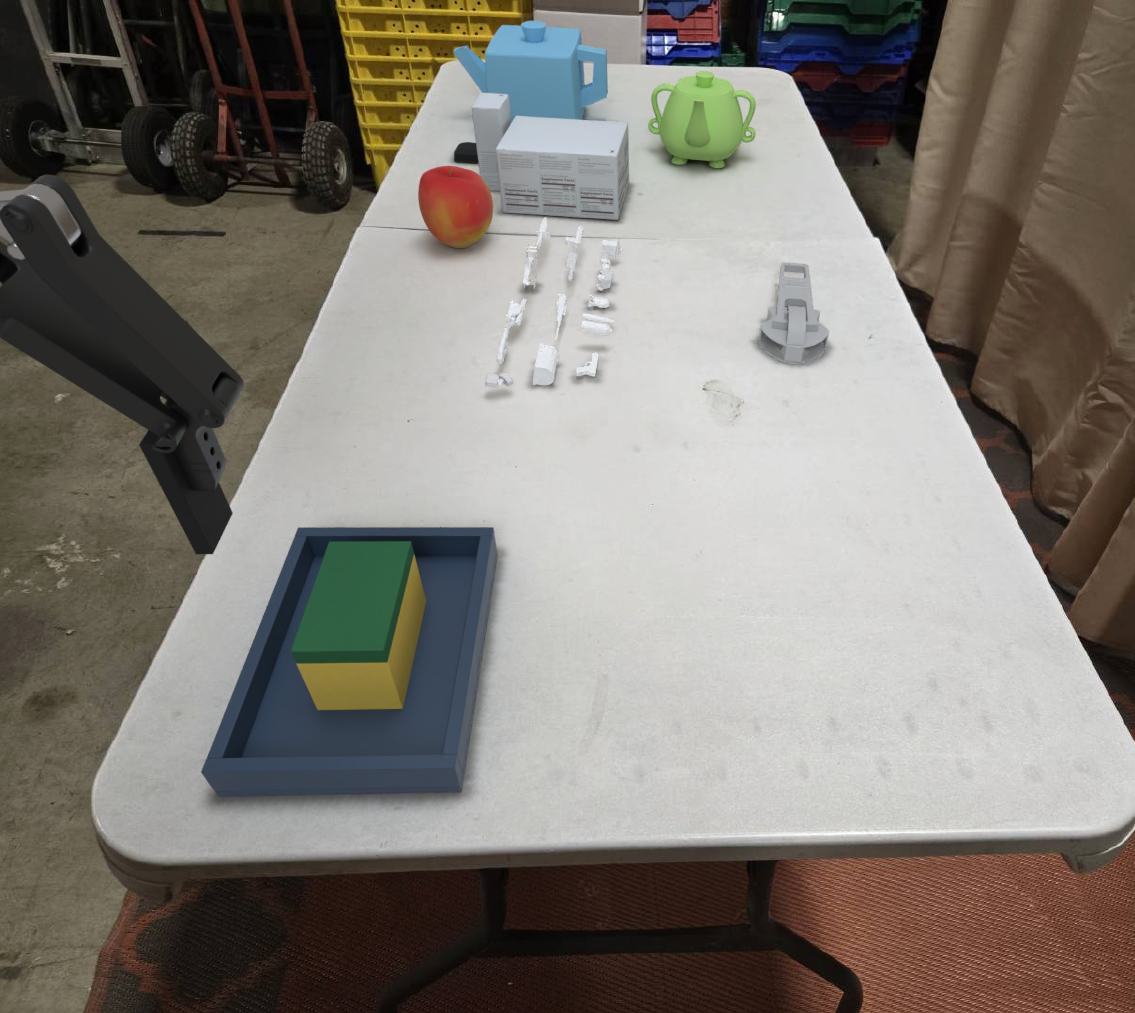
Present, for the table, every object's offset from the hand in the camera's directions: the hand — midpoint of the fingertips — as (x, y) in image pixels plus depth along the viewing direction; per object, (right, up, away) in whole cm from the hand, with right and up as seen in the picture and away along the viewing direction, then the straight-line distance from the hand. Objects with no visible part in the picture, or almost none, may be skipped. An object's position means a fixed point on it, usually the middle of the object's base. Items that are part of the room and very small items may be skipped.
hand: (64, 534), depth 39 cm
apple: (-1, +37, +74) cm, 83 cm away
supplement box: (+12, +47, +85) cm, 98 cm away
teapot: (+32, +58, +98) cm, 119 cm away
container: (+4, +68, +107) cm, 127 cm away
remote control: (+1, +56, +95) cm, 110 cm away
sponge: (+6, -10, +25) cm, 27 cm away
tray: (+6, -10, +25) cm, 28 cm away
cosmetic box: (+2, +50, +88) cm, 101 cm away
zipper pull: (+43, +24, +63) cm, 80 cm away
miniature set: (+15, +24, +62) cm, 68 cm away
